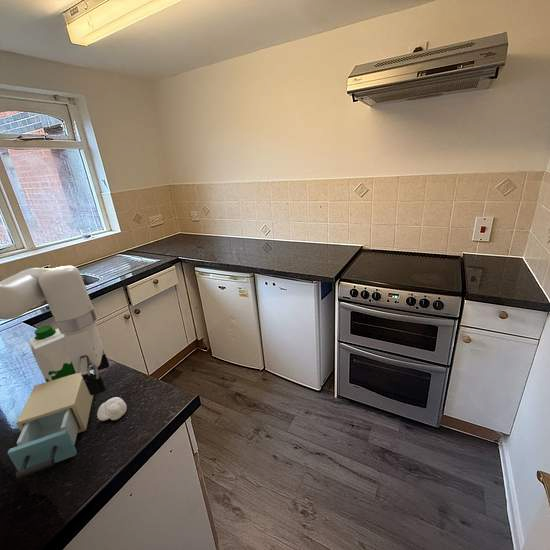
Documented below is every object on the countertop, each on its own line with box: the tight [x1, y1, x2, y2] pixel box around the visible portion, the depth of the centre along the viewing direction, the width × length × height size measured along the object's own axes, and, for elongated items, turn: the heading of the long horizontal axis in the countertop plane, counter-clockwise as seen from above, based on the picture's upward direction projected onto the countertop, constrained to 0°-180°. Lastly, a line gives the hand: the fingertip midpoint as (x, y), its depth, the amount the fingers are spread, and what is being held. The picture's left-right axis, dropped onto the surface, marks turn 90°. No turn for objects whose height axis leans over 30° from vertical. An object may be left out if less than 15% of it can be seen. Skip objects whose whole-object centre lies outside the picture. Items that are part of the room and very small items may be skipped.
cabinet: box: [15, 372, 94, 434], centre depth 77 cm, size 14×12×9 cm
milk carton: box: [28, 325, 76, 382], centre depth 87 cm, size 9×9×20 cm
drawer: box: [7, 408, 79, 480], centre depth 67 cm, size 18×10×7 cm, turn 23°
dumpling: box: [96, 396, 128, 422], centre depth 78 cm, size 7×5×4 cm
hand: (100, 379), depth 74 cm, fingers open, 9 cm apart
